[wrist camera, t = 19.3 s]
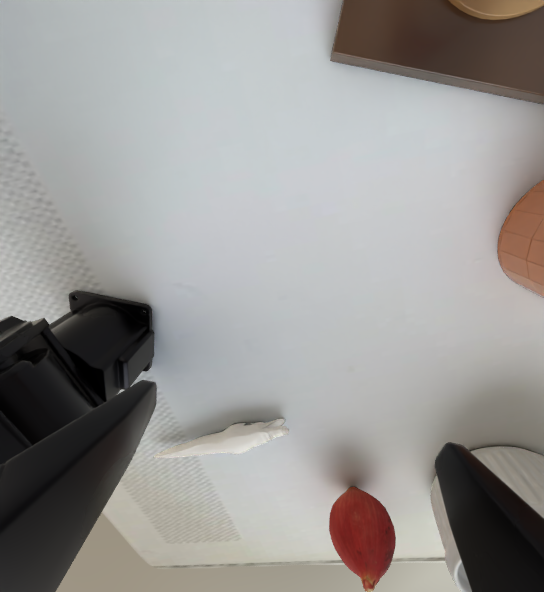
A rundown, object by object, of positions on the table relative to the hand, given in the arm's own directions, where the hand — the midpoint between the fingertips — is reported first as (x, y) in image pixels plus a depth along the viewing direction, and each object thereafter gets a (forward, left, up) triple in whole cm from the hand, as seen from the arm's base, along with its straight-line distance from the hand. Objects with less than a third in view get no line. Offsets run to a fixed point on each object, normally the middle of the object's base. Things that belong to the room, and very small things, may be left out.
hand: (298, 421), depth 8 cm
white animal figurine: (-4, -18, -13) cm, 23 cm away
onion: (+11, -22, -13) cm, 28 cm away
